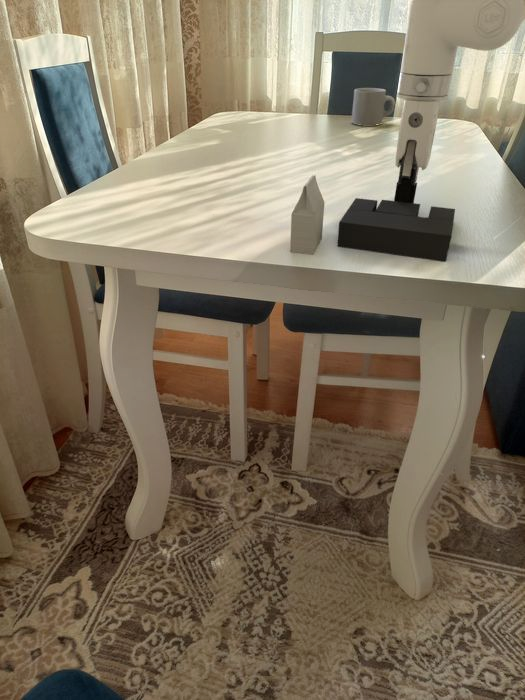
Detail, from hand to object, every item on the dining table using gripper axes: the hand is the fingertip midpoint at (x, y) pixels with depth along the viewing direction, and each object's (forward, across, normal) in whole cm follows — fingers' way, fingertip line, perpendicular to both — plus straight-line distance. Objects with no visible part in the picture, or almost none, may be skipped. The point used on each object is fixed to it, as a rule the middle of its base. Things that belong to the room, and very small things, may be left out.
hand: (403, 206), depth 85 cm
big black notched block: (+3, -8, 0) cm, 8 cm away
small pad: (+3, -5, 0) cm, 6 cm away
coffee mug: (+3, +91, +21) cm, 94 cm away
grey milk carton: (+3, -16, +13) cm, 21 cm away
